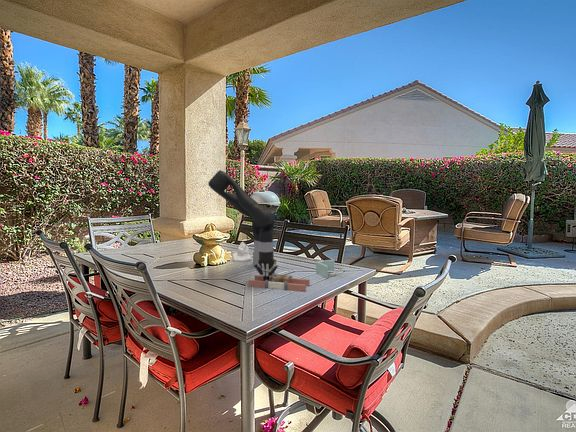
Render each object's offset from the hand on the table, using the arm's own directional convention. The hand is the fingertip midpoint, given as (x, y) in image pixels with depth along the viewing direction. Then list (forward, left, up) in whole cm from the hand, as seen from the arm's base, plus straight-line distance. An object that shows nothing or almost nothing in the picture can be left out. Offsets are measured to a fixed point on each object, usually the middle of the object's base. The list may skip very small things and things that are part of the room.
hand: (266, 282), depth 160 cm
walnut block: (+9, 0, -1) cm, 9 cm away
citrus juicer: (-33, +45, -1) cm, 56 cm away
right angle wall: (+30, +26, -2) cm, 40 cm away
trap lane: (+7, 0, -1) cm, 7 cm away
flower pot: (-4, +16, -1) cm, 16 cm away
